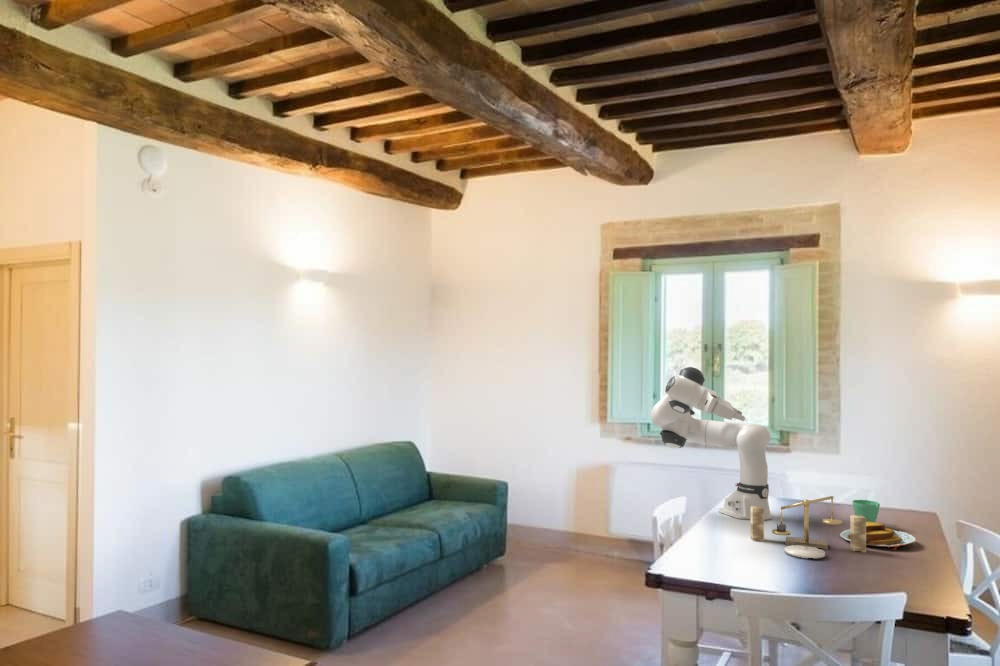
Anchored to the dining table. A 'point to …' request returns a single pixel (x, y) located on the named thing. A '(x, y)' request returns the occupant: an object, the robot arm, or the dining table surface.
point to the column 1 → (757, 523)
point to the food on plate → (882, 536)
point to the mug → (866, 509)
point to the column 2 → (858, 533)
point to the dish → (804, 551)
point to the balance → (806, 526)
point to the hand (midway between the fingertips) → (742, 416)
